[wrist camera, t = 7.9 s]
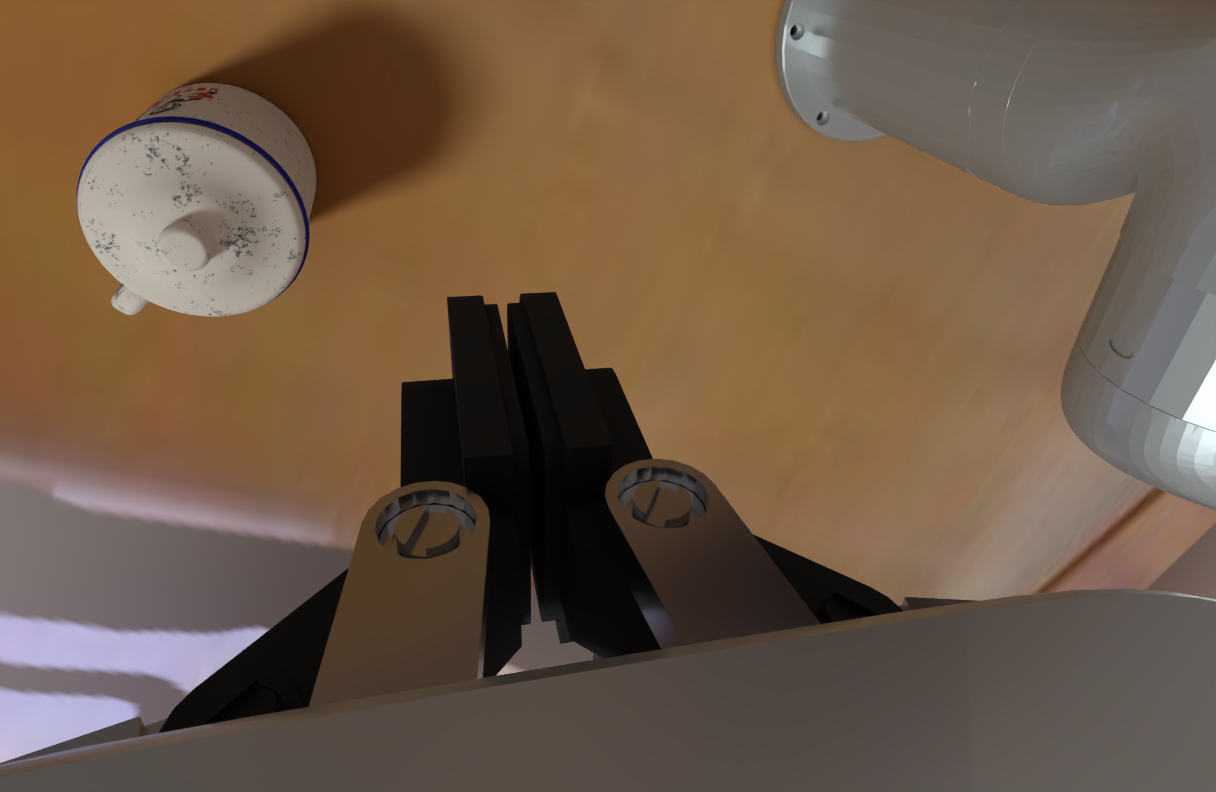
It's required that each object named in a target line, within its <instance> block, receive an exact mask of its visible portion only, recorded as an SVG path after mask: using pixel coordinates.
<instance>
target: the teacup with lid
mask: <svg viewBox="0 0 1216 792" xmlns="http://www.w3.org/2000/svg"><path fill="white" fill-rule="evenodd" d="M315 192H316V168H315V164H314V159H313V156H312V153H311V151H310V148H309V146H308V144H307V142H306V140H305V138H304V136H303V135H302V133H301V132H300V130H299V129H298V128H297V126H296V125H295V124H294V123H293V122H292V121H291V119H290V118H289V117H288V116H287V115H286V114H285V113H283V112H282V111H281V110H280V109H279V108H278V107H276V106H275V105H274V104H272V103H271V102H269V101H268V100H266V99H264V98H263V97H261V96H259V95H257V94H255V93H253V92H250V91H248V90H245V89H242V88H239V87H236V86H232V85H227V84H220V83H198V84H192V85H187V86H183V87H180V88H178V89H175V90H173V91H171V92H169V93H167V94H165V95H164V96H162V97H161V98H160V99H158V100H157V101H156V102H155V103H154V104H153V105H152V106H151V107H149V108H148V109H147V110H146V111H145V112H144V113H143V114H142V115H140V116H139V117H138V118H137V119H136V120H135V121H134V122H133V123H130V124H127V125H125V126H123V127H121V128H119V129H117V130H115V131H114V132H112V133H111V134H109V135H108V136H106V137H105V138H104V139H103V140H102V141H101V142H100V143H99V144H98V145H97V146H96V147H95V148H94V149H93V150H92V152H91V153H90V155H89V156H88V158H87V159H86V161H85V163H84V165H83V167H82V170H81V173H80V176H79V181H78V186H77V208H78V214H79V219H80V223H81V226H82V230H83V232H84V235H85V237H86V240H87V242H88V243H89V245H90V247H91V249H92V251H93V252H94V254H95V255H96V257H97V258H98V259H99V261H100V262H101V263H102V264H103V266H104V267H105V268H106V269H107V270H108V271H109V272H110V273H111V274H112V275H113V276H114V277H115V278H116V279H117V280H118V281H120V282H121V285H120V286H119V288H118V289H117V290H116V292H115V293H114V295H113V297H112V305H113V306H114V307H115V308H116V309H118V310H119V311H121V312H123V313H125V314H127V315H134V314H136V313H138V312H139V311H141V310H142V309H143V308H144V307H145V306H146V304H147V303H148V302H149V301H150V302H152V303H155V304H157V305H159V306H162V307H164V308H167V309H170V310H174V311H177V312H181V313H186V314H191V315H198V316H228V315H235V314H240V313H244V312H247V311H251V310H253V309H256V308H258V307H260V306H262V305H264V304H266V303H268V302H270V301H272V300H273V299H275V298H276V297H278V296H279V295H280V294H282V293H283V292H284V291H285V290H286V289H287V288H288V287H289V286H290V285H291V284H292V283H293V281H294V280H295V279H296V277H297V276H298V274H299V272H300V271H301V269H302V267H303V264H304V262H305V259H306V256H307V251H308V247H309V218H310V214H311V210H312V205H313V201H314V197H315Z"/></svg>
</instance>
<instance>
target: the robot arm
mask: <svg viewBox="0 0 1216 792" xmlns="http://www.w3.org/2000/svg"><path fill="white" fill-rule="evenodd" d="M793 26H794V30H793V32H792V33H791V34H790V31H791V28H792V27H793ZM776 61H777V69H778V77H779V80H780V84H781V87H782V90H783V93H784V96H785V98H786V99H787V101H788V103H789V105H790V106H791V108H792V110H793V111H794V113H795V114H796V115H797V116H798V117H799V118H800V119H801V120H802V121H803V122H804V123H805V124H806V125H808V126H809V127H811V128H812V129H814V130H816V131H817V132H819V133H821V134H823V135H825V136H827V137H829V138H832V139H835V140H840V141H845V142H865V141H870V140H874V139H878V138H882V137H884V136H887V135H889V136H891V137H893V138H895V139H897V140H900V141H902V142H904V143H906V144H908V145H910V146H912V147H914V148H916V149H918V150H921V151H923V152H925V153H927V154H929V155H931V156H933V157H935V158H937V159H939V160H942V161H944V162H946V163H948V164H950V165H952V166H954V167H956V168H958V169H961V170H963V171H965V172H967V173H969V174H971V175H973V176H975V177H977V178H979V179H981V180H984V181H986V182H988V183H991V184H993V185H995V186H997V187H999V188H1001V189H1003V190H1005V191H1008V192H1010V193H1012V194H1014V195H1016V196H1019V197H1021V198H1024V199H1027V200H1030V201H1033V202H1037V203H1042V204H1048V205H1058V206H1067V205H1084V204H1091V203H1096V202H1101V201H1106V200H1110V199H1114V198H1118V197H1121V196H1125V195H1128V194H1131V193H1134V192H1135V195H1134V198H1133V201H1132V203H1131V206H1130V209H1129V211H1128V214H1127V216H1126V219H1125V221H1124V224H1123V226H1122V228H1121V232H1120V238H1119V240H1118V243H1117V245H1116V247H1115V250H1114V252H1113V254H1112V256H1111V259H1110V261H1109V263H1108V266H1107V268H1106V270H1105V273H1104V275H1103V277H1102V280H1101V282H1100V284H1099V286H1098V289H1097V291H1096V293H1095V296H1094V298H1093V300H1092V303H1091V305H1090V307H1089V310H1088V312H1087V314H1086V316H1085V319H1084V321H1083V323H1082V326H1081V328H1080V330H1079V333H1078V336H1077V339H1076V341H1075V343H1074V346H1073V348H1072V350H1071V353H1070V356H1069V359H1068V362H1067V364H1066V367H1065V371H1064V375H1063V379H1062V384H1061V403H1062V409H1063V412H1064V415H1065V417H1066V420H1067V422H1068V424H1069V426H1070V427H1071V429H1072V430H1073V432H1074V433H1075V434H1076V436H1077V437H1078V438H1079V439H1080V440H1081V441H1082V442H1083V443H1084V444H1085V445H1086V446H1087V447H1088V448H1089V449H1090V450H1092V451H1093V452H1094V453H1095V454H1096V455H1098V456H1099V457H1100V458H1102V459H1103V460H1105V461H1106V462H1108V463H1109V464H1111V465H1112V466H1114V467H1116V468H1117V469H1119V470H1121V471H1123V472H1125V473H1126V474H1128V475H1130V476H1132V477H1134V478H1136V479H1138V480H1140V481H1142V482H1145V483H1147V484H1149V485H1151V486H1153V487H1156V488H1158V489H1160V490H1162V491H1165V492H1167V493H1170V494H1172V495H1175V496H1177V497H1180V498H1183V499H1185V500H1188V501H1190V502H1193V503H1196V504H1199V505H1201V506H1204V507H1207V508H1210V509H1213V510H1216V0H785V3H784V6H783V9H782V11H781V16H780V21H779V26H778V32H777V43H776ZM818 114H819V117H818V118H817V116H818ZM447 305H448V319H449V333H450V347H451V361H452V375H453V379H442V380H428V381H414V382H402V395H401V488H397V489H395V490H394V491H392V492H390V493H388V494H387V495H385V496H383V497H381V498H380V499H379V500H378V501H377V502H376V503H375V504H374V505H373V506H372V507H371V508H370V509H369V510H368V512H367V514H366V516H365V518H364V520H363V522H362V524H361V528H360V531H359V535H358V538H357V542H356V545H355V548H354V552H353V555H352V559H351V562H350V566H349V568H348V569H347V570H345V571H344V572H343V573H341V574H340V575H339V576H338V577H336V578H335V579H334V580H333V581H331V582H330V583H329V584H328V585H326V586H325V587H324V588H322V589H321V590H320V591H319V592H317V593H316V594H315V595H313V596H312V597H311V598H310V599H308V600H307V601H306V602H305V603H303V604H302V605H301V606H300V607H298V608H297V609H296V610H294V611H293V612H292V613H290V614H289V615H288V616H287V617H285V618H284V619H283V620H282V621H280V622H279V623H278V624H276V625H275V626H274V627H273V628H271V629H270V630H269V631H267V632H266V633H265V634H264V635H262V636H261V637H260V638H259V639H257V640H256V641H255V642H253V643H252V644H251V645H250V646H248V647H247V648H246V649H245V650H243V651H242V652H241V653H239V654H238V655H237V656H236V657H234V658H233V659H232V660H230V661H229V662H228V663H227V664H225V665H224V666H223V667H222V668H220V669H219V670H218V671H216V672H215V673H214V674H213V675H211V676H210V677H209V678H208V679H206V680H205V681H204V682H202V683H201V684H200V685H199V686H197V687H196V688H195V689H194V690H193V691H191V692H190V693H189V694H188V695H187V696H186V697H185V698H184V699H183V700H182V701H181V702H180V703H179V704H178V705H177V706H176V707H175V708H174V709H173V711H172V712H171V714H170V715H169V717H168V718H167V719H164V720H161V721H158V722H155V723H152V724H149V725H146V726H144V724H143V722H142V720H141V718H140V716H139V717H136V718H133V719H130V720H127V721H124V722H121V723H118V724H115V725H112V726H109V727H106V728H103V729H100V730H97V731H94V732H91V733H89V734H86V735H83V736H80V737H77V738H74V739H71V740H68V741H65V742H62V743H59V744H56V745H53V746H50V747H47V748H44V749H41V750H38V751H35V752H32V753H29V754H26V755H23V756H20V757H17V758H14V759H11V760H8V761H5V762H2V763H0V792H1216V600H1214V599H1208V598H1203V597H1197V596H1192V595H1186V594H1180V593H1175V592H1165V591H1152V590H1137V589H1096V590H1069V591H1060V592H1052V593H1043V594H1032V595H1020V596H1011V597H1004V598H997V599H989V600H982V601H973V600H955V599H936V598H918V597H905V598H904V600H903V603H902V605H901V606H897V605H896V604H895V603H894V602H893V601H892V600H891V599H890V598H888V597H887V596H885V595H883V594H882V593H880V592H878V591H876V590H875V589H873V588H871V587H869V586H867V585H865V584H862V583H860V582H858V581H856V580H853V579H851V578H849V577H847V576H845V575H842V574H840V573H838V572H836V571H833V570H831V569H829V568H827V567H824V566H822V565H820V564H818V563H816V562H813V561H811V560H809V559H807V558H804V557H802V556H800V555H798V554H795V553H793V552H791V551H789V550H787V549H784V548H782V547H780V546H778V545H775V544H773V543H771V542H769V541H767V540H764V539H762V538H760V537H758V536H755V535H753V534H752V533H751V531H750V530H749V529H748V527H747V526H746V525H745V523H744V522H743V521H742V519H741V518H740V517H739V516H738V514H737V513H736V512H735V510H734V509H733V508H732V506H731V505H730V504H729V502H728V501H727V500H726V498H725V497H724V496H723V494H722V493H721V492H720V491H719V489H718V488H717V487H716V485H715V484H714V483H713V482H712V481H711V480H710V479H709V478H708V477H707V476H706V475H705V474H704V473H702V472H700V471H698V470H697V469H695V468H693V467H691V466H689V465H686V464H683V463H680V462H676V461H673V460H663V459H653V458H652V456H651V453H650V451H649V449H648V447H647V444H646V442H645V440H644V437H643V435H642V433H641V431H640V428H639V426H638V424H637V422H636V419H635V417H634V415H633V412H632V410H631V408H630V406H629V403H628V401H627V399H626V396H625V394H624V392H623V390H622V387H621V385H620V383H619V380H618V378H617V376H616V374H615V372H614V370H613V369H612V368H599V369H585V368H584V365H583V363H582V360H581V357H580V355H579V352H578V349H577V347H576V344H575V342H574V339H573V336H572V334H571V331H570V328H569V326H568V323H567V320H566V318H565V315H564V312H563V310H562V307H561V305H560V302H559V299H558V297H557V294H556V292H548V293H526V294H520V301H519V303H509V304H508V305H507V331H508V350H507V345H506V341H505V336H504V332H503V328H502V323H501V319H500V314H499V310H498V305H497V304H488V305H484V300H483V296H461V297H447ZM531 568H532V573H533V579H534V584H535V589H536V595H537V600H538V605H539V611H540V616H541V619H542V622H545V621H553V620H555V621H556V626H557V631H558V636H559V640H560V643H568V642H576V643H578V644H579V645H581V646H583V647H584V648H586V649H588V650H590V651H591V652H593V660H592V661H585V662H579V663H573V664H566V665H561V666H554V667H548V668H542V669H536V670H529V671H523V672H517V673H511V674H504V675H498V676H497V674H498V672H499V671H500V670H501V669H502V668H503V667H504V666H505V664H506V663H507V662H508V661H509V660H510V659H511V658H512V656H513V655H514V654H515V653H516V652H517V651H518V650H519V649H520V648H521V646H522V639H521V625H526V624H530V623H531Z"/></svg>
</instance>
